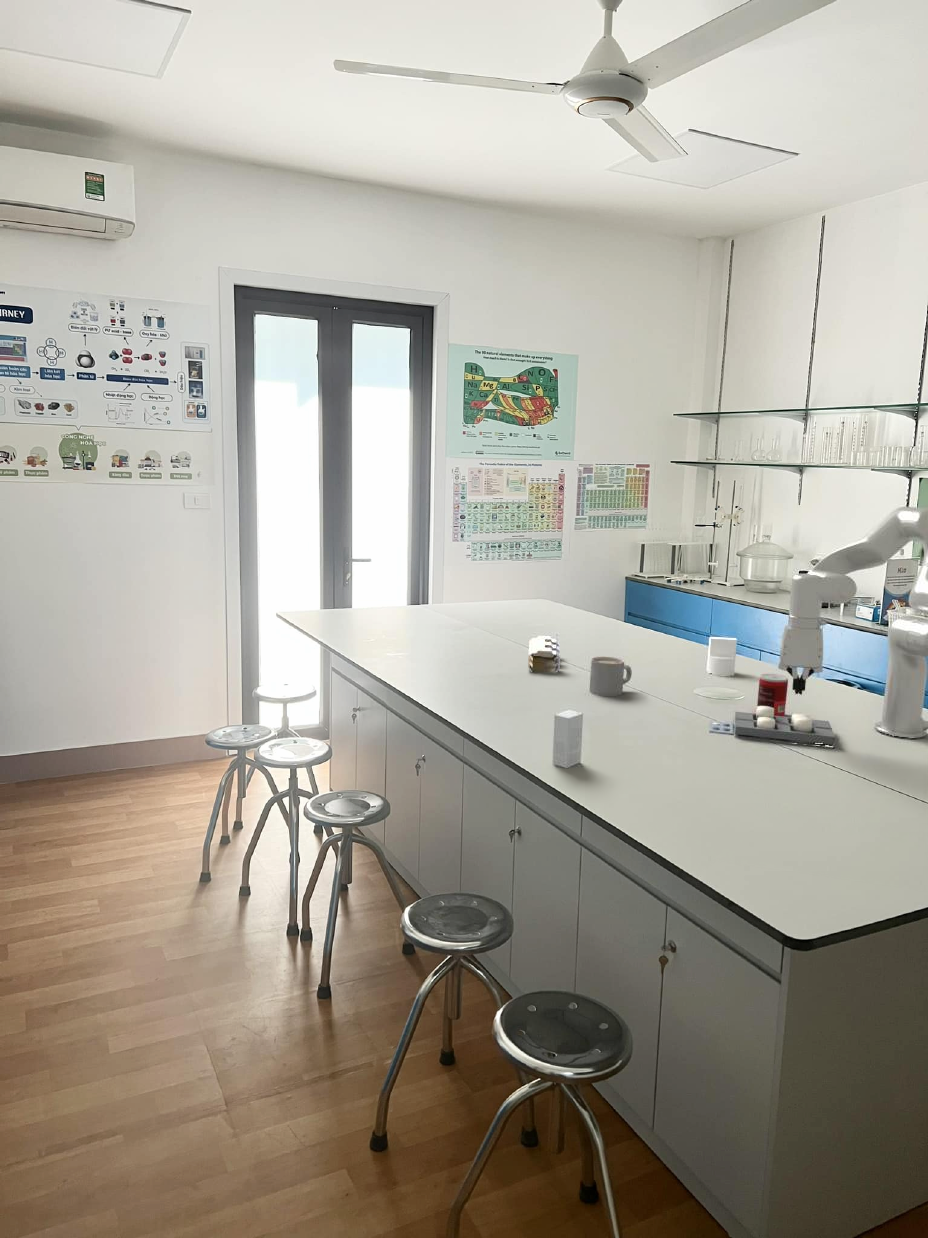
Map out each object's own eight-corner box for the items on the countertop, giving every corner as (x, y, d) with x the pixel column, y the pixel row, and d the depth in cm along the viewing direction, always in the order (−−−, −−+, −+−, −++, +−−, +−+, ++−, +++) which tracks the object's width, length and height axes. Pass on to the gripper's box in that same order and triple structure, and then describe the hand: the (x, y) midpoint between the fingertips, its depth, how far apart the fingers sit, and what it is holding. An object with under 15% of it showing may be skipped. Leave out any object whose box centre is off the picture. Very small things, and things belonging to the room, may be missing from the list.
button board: (827, 732, 242) (828, 721, 242) (834, 748, 228) (835, 737, 228) (709, 719, 250) (710, 709, 250) (709, 734, 236) (710, 723, 236)
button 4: (810, 728, 235) (811, 717, 234) (812, 733, 231) (813, 722, 230) (792, 726, 236) (793, 715, 235) (793, 731, 232) (795, 720, 231)
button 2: (773, 729, 237) (774, 718, 237) (774, 733, 233) (775, 722, 233) (756, 727, 239) (757, 716, 238) (756, 732, 234) (757, 720, 234)
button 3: (807, 725, 242) (808, 714, 241) (809, 730, 238) (810, 719, 237) (790, 723, 243) (791, 713, 242) (791, 728, 239) (792, 717, 238)
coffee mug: (595, 696, 270) (597, 664, 269) (585, 688, 280) (586, 656, 278) (638, 695, 273) (640, 663, 271) (625, 687, 283) (628, 656, 281)
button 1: (772, 717, 244) (773, 707, 243) (773, 722, 240) (774, 711, 239) (755, 715, 245) (756, 705, 245) (756, 720, 241) (757, 709, 240)
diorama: (559, 674, 298) (561, 635, 295) (527, 673, 299) (529, 634, 296) (557, 658, 322) (559, 622, 320) (528, 656, 323) (530, 620, 321)
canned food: (783, 712, 261) (787, 674, 259) (785, 719, 253) (789, 681, 251) (755, 709, 263) (759, 672, 261) (756, 716, 255) (760, 678, 253)
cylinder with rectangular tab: (731, 670, 311) (734, 636, 309) (736, 676, 302) (739, 641, 300) (704, 669, 312) (707, 635, 310) (708, 675, 303) (711, 640, 301)
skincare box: (565, 758, 213) (568, 709, 211) (581, 762, 211) (584, 713, 209) (551, 764, 209) (553, 714, 207) (566, 769, 206) (569, 718, 204)
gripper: (834, 622, 230) (828, 692, 234) (772, 618, 235) (767, 687, 238) (837, 627, 223) (830, 699, 227) (773, 623, 228) (768, 694, 231)
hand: (798, 692), depth 232 cm, fingers closed
